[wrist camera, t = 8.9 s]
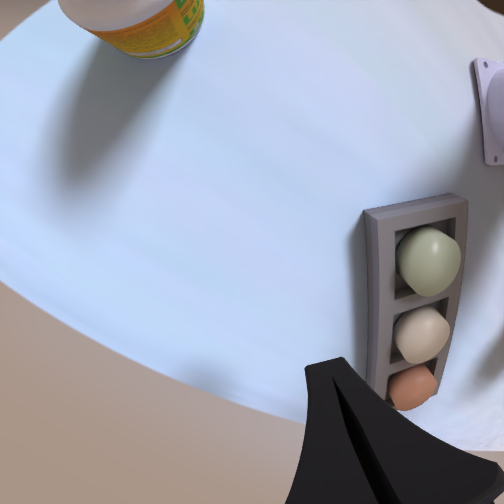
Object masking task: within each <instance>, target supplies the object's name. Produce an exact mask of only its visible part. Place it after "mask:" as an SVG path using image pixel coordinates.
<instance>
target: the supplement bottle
mask: <svg viewBox="0 0 504 504" xmlns="http://www.w3.org/2000/svg"><path fill="white" fill-rule="evenodd" d="M58 3H59V5H60V8H61V10H62V11H63V13H64V14H65V15H66V16H67V17H68V18H69V19H70V20H71V21H73V22H74V23H75V24H77V25H78V26H80V27H82V28H83V29H85V30H87V31H89V32H90V33H92V34H94V35H95V36H97V37H99V38H101V39H102V40H104V41H106V42H107V43H109V44H111V45H112V46H114V47H116V48H117V49H119V50H120V51H122V52H123V53H125V54H127V55H129V56H132V57H135V58H139V59H157V58H161V57H165V56H168V55H171V54H173V53H175V52H177V51H178V50H180V49H182V48H183V47H185V46H186V45H187V44H188V43H189V42H190V41H191V40H192V39H193V38H194V37H195V36H196V34H197V33H198V31H199V30H200V27H201V25H202V23H203V19H204V11H205V10H204V1H203V0H58Z"/></svg>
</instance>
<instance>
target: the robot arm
mask: <svg viewBox="0 0 504 504" xmlns="http://www.w3.org/2000/svg"><path fill="white" fill-rule="evenodd" d="M483 63H484V65H483ZM484 66H485V67H484ZM474 67H475V73H476V78H477V84H478V91H479V98H480V105H481V114H482V124H483V136H484V153H485V162H486V164H487V165H489V166H496V165H504V62H500V61H495V60H490V59H484V58H475V59H474ZM494 157H495V159H494ZM304 369H305V376H306V383H307V391H308V409H307V421H306V429H305V436H304V441H303V446H302V451H301V456H300V460H299V464H298V467H297V471H296V474H295V477H294V481H293V483H292V487H291V490H290V492H289V495H288V497H287V500H286V502H285V504H495V503H494V500H495V499H496V498H497V497H498V496H499V495H500V494H501V493H503V492H504V471H503V470H502V469H501V467H500V466H499V465H498V464H497V463H496V462H493V461H489V460H487V459H483V458H480V457H478V456H475V455H472V454H470V453H467V452H465V451H462V450H460V449H458V448H456V447H454V446H452V445H450V444H448V443H446V442H444V441H442V440H440V439H438V438H436V437H434V436H432V435H431V434H429V433H428V432H426V431H424V430H423V429H421V428H420V427H418V426H417V425H415V424H414V423H412V422H411V421H409V420H408V419H407V418H405V417H404V416H403V415H401V414H400V413H399V412H398V411H396V410H395V409H394V408H393V407H391V406H390V405H389V404H388V403H387V402H386V401H384V400H383V399H382V398H381V397H380V396H379V395H378V394H377V393H376V392H375V391H374V390H373V389H372V388H371V387H370V386H369V385H368V384H367V383H366V382H365V381H364V380H363V379H362V378H361V377H360V376H359V375H358V374H357V373H356V372H355V371H354V369H353V368H352V367H351V366H350V365H349V363H348V362H347V361H346V360H345V358H343V357H339V358H335V359H331V360H327V361H323V362H319V363H315V364H311V365H307V366H306V367H305V368H304Z"/></svg>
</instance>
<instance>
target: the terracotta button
mask: <svg viewBox="0 0 504 504" xmlns="http://www.w3.org/2000/svg"><path fill="white" fill-rule="evenodd" d="M436 386H437V381H436V379H435V378H434V377H433V375H432V374H431V372H430V371H429V369H428V368H427V366H426V365H425V364H424V363H420V364H418V365H415V366H413V367H410V368H407V369H404V370H402V371H399V372H396V373H395V374H394V375H393V376H392V377H391V379H390V380H389V382H388V385H387V391H388V393H389V395H390V397H391V399H392V400H393V402H394V404H395V406H396V408H397V409H398V410H401V411H407V410H411V409H413V408H416V407H418V406H419V405H421V404H423V403H424V402H425V401H426V400H428V399H429V398H430V396H431V395H432V394H433V393H434V391H435V389H436Z"/></svg>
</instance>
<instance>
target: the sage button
mask: <svg viewBox="0 0 504 504" xmlns="http://www.w3.org/2000/svg"><path fill="white" fill-rule="evenodd" d="M460 262H461V252H460V248H459V246H458V244H457V243H456V241H455V240H453V239H452V238H450V237H449V236H447V235H446V234H444V233H442V232H441V231H439V230H438V229H436V228H434V227H432V226H428V225H424V226H419V227H417V228H415V229H413V230H412V231H410V232H409V233H408V234H407V235H406V236H405V237H404V238H403V240H402V241H401V243H400V245H399V247H398V250H397V253H396V259H395V264H396V269H397V272H398V274H399V275H400V276H401V277H402V278H403V280H404V281H405V282H406V283H407V284H408V285H409V286H410V287H411V288H412V289H413V290H414V291H415V292H416V293H417V294H419V295H421V296H425V297H429V296H434V295H437V294H439V293H440V292H442V291H443V290H445V289H446V288H447V287H448V286H449V285H450V284H451V283H452V281H453V280H454V278H455V276H456V275H457V272H458V270H459V267H460Z"/></svg>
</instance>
